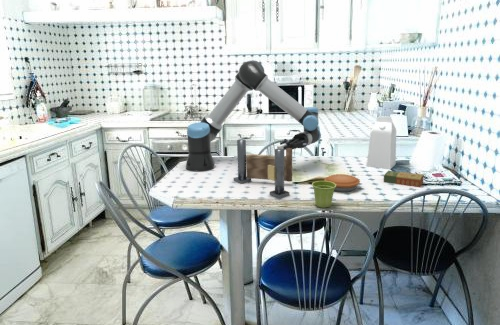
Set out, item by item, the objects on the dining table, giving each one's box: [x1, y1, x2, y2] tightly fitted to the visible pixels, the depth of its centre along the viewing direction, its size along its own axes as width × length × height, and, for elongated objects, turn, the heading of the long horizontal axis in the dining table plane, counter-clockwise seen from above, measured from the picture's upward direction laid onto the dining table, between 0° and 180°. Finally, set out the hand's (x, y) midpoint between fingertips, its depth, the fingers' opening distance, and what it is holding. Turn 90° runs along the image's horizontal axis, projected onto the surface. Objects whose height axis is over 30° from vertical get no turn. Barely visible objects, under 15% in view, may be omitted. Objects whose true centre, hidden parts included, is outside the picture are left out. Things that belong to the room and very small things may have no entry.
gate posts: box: [233, 138, 290, 200], centre depth 181 cm, size 32×6×20 cm, turn 38°
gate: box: [246, 148, 293, 182], centre depth 188 cm, size 21×3×15 cm, turn 73°
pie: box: [323, 173, 361, 193], centre depth 182 cm, size 15×16×5 cm
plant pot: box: [311, 180, 336, 209], centre depth 161 cm, size 9×9×9 cm
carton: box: [383, 170, 425, 188], centre depth 188 cm, size 8×16×4 cm, turn 59°
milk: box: [366, 115, 397, 170], centre depth 213 cm, size 12×12×26 cm
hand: (278, 149), depth 193 cm, fingers closed
